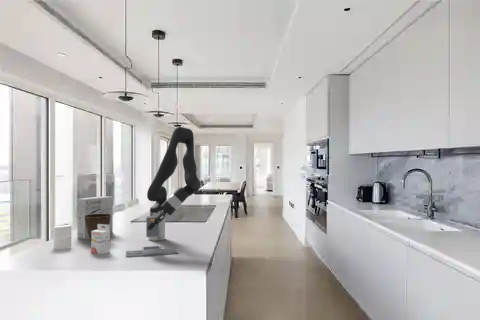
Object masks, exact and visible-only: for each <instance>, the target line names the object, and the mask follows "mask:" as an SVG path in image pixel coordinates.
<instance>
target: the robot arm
mask: <svg viewBox="0 0 480 320" xmlns="http://www.w3.org/2000/svg"><path fill="white" fill-rule="evenodd" d="M194 141H195V139H194V132H193V130H192V129H190V128H188V127H183V126H176V127H175V128H174V130H173V132H172V135H171V137H170V140H169V143H168V146H167V149H166V151H165V153H164V156H163V157H162V160H161V163H160V166H159V167H158V170H157V172H156V175H155V176H154V179H153V180H152V182H151V184H150V185H149V187H148V189H147V193H146V197H147V199H148V201H150V202H155V204H153V205H152V206H151V207H149V216H156V217H155V220H154V221H153V223H151V224H150V225H149V226H148V229H149V230H151V229H152V228H153V227H154V226H155V225H158V236H156V237H148V240H149V241H152V242H153V241H155V242H156V241H163V240H165V239H166V215H169V216H172V215H173V214H174V213H175V212H176V210H177V209H179V208H180V206H181V205H182V204H183V203H184V202H185V201H186V200H187V199H188V198H189V197H191V196H192V195H193V194H194V193H196V192H197V191H198V190H199V189H200V188H201V184H202V183H201V180H200V179H199V178H198V175H197V170H198V169H197V164H196V160H195V142H194ZM179 143H180V144H184V145H185V147H186V151H185V153H184V154H183V157H182V166H183V171H184V172H183V173H184V182H185V186H184V187H179V188H177V189H176V190H175V191H174V192H173V194H171V195H170V196H169V197H168V193H167V189H166V187H165V186H163V185H164V183H165V182H167V180H168V179H169V178H170V177H172V176H173V174H174V173H175V170H176V169H177V167H178V163H179V160H178V154H177V147H178V145H179ZM167 197H168V198H167ZM157 217H158V218H157ZM156 220H157V221H158V222H156Z"/></svg>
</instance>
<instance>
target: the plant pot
mask: <svg viewBox="0 0 480 320" xmlns="http://www.w3.org/2000/svg"><path fill="white" fill-rule="evenodd" d="M84 217H85V224H86V228H87V232H88V235H89V238H88V239H89V240H90V241H91V231H93V230H98V227H97V224H104V225H109V224H110V218H111V215H110V214H92V215H86V216H84ZM101 227H102V228H106V227H104V226H101Z"/></svg>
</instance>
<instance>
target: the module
mask: <svg viewBox="0 0 480 320" xmlns="http://www.w3.org/2000/svg"><path fill="white" fill-rule="evenodd" d="M155 217H156V216H150V215H149V216H146V219H145V220H146V221H145V222H146V224H145V225H146V230H145V232H146V235H145V236H146V238H149V237H156V236H158V225H155V226H154V227H153V228H152V229H151V230H149V229H148V226H149V225H150V224H151V223H153V221H154V220H155ZM157 218H158V217H157ZM156 222H158V221H157V220H156Z"/></svg>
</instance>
